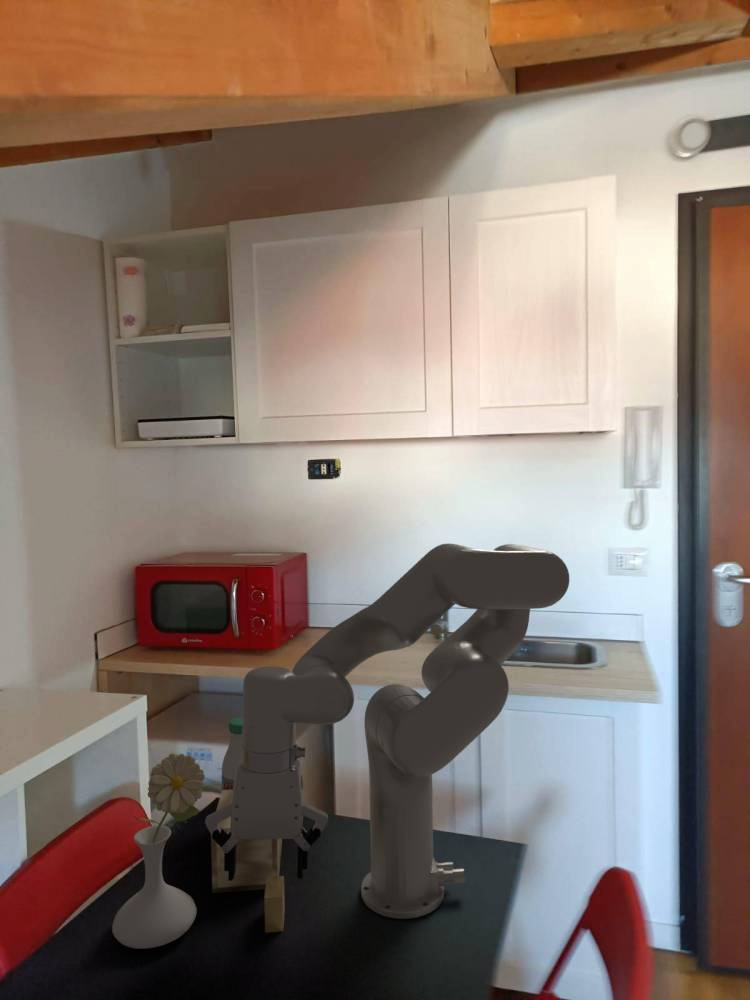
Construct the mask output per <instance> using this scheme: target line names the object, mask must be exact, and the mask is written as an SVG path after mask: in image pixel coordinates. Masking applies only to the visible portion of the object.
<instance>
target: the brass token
mask: <svg viewBox="0 0 750 1000" xmlns="http://www.w3.org/2000/svg"><path fill="white" fill-rule="evenodd" d="M263 897H264V898H263V900H264V926H265V927H264V932H265V933H279V932H284V926H285V925H284V923H285V909H286V908H285V907H286V905H285V903H286V902H285V901H286V900H285V875H279V876H276V877H267V880H266V889H264V896H263Z"/></svg>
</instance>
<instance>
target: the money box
mask: <svg viewBox="0 0 750 1000" xmlns="http://www.w3.org/2000/svg"><path fill="white" fill-rule="evenodd" d="M232 795H233V789H231V790H222V789H221V793H220V796H219V800H218V804H217V807H216V810H215V812H216V811H217V810H219V809H221V808H223V807H225V806H227V805H229V804H231V803H232ZM218 824H219V826H220V827H221V828H222V829H223V830H224V831H225V832H226V833H227V834H228V833H229V831H230V830H231V817H229V818H227V819H225V820H223V821H221V822H219V823H218ZM210 846H211V848H210V851H211V852H210V853H211V854H210V855H211V884H212V885H211V886H212V888H211V889H212V890H211V891H212V893H213V894H215V893H217V894H219V893H231V892H243V891H244V892H245V891H260V890H261V891H262V890H265V889H266V880H267V877H276V876H280V872H281V870H280V869H281V860H282V850H283V849H282V847H283V839H260V840H242V839H240V840H239V841H238V842H237V843H236V871H235V875H234V879H232V881H228V873H229V871H224V854H225V853H224V852H223V851H222V847H220V846H219V845H218V844H217V843H216V842H215V841H214V840H213V839H212V835H211V834H210Z"/></svg>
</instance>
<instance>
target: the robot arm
mask: <svg viewBox="0 0 750 1000" xmlns="http://www.w3.org/2000/svg"><path fill="white" fill-rule="evenodd" d="M569 586H570V572H569V568H568V567H567V565H566V563H565V562H564V561H563V559H562V558H561V557H560V556H559V555H557V554H555V553H554V552H552V551H549V550H545V549H541V548H535V547H531V546H526V545H520V544H514V543H507V544H502V545H498V546H497V547H495V548H494V549H493V550H491V549H490V550H489V549H480V548H479V549H478V548H473V547H468V546H464V545H460V544H455V543H442V544H439V545H437V546H434V547H433V548H432V549H430V550H429V551H428V552H426V554H424V556H422V557H421V558H420V559H419V560H418V561H417V562H416V563H415V564H414V565H413V566H412V567H410V569H408V571H407V572H406V573H404V574H403V575H402V576H401V577H400V578H399V579H398V580H397V581H395V583H393V585H392V586H390V587H389V589H387V590H386V591H384V593H383V594H382V595H380V596H379V598H378V599H376V600H375V601H374V602H373V603H371V604H370V605H368V606H366V607H364V608H362V609H361V610H359V611H358V612H356V613H355V614H352V615H351V616H350V617H348V618H346V619H344V620H343V621H341V622H340V623H338V624H337V625H335V626H334V627H333V628H331V629H330V630H329V631H327V632H326V633H325V634H324V635H323V636H322V637H320V639H318V640H317V642H315V643H314V644H313V645H312V646H311V647H310V648H309V649H308V650H307V651H306V652H305V653H304V654H302V656H300V658H299V659H298V660H297V662H296V663H295V665H294V666H293V668H292V670H291V669H290V668H286V667H282V666H275V665H271V666H269V665H268V666H260V667H256V668H254V669H251V670H249V671H248V672H247V673H246V674H245V676H244V679H243V687H242V689H243V690H242V691H243V692H242V717H243V729H242V760H241V761H240V762H238V764H237V768H236V773H235V778H234V786H233V795H232V803H231V804H229V805H227V806H225V807H223V808H221V809H219V810H217V809H216V810H217V811H216V810H215V811H214V812H212V813H210V814H208V815H207V816H206V818H205V821H204V824H205V826H206V828H207V830H208V832H209V833H210V836H211V835H212V839H213V840H214V841H215V842H216V843H217V844H218V845H219V846H220V847H222V851H223V852H224V853H225V854H224V871H229V873H228V881H232V879H234V875H235V871H236V843H237V842H238V841H239V840H240V839H242V840H260V839H282V840H283V839H284V840H287V839H288V840H290V839H293V841H294V842H295V843H296V844H297V866H296V867H297V871H296V872H297V873H296V878H297V879H298V880H302V879H303V870H308V859H309V858H308V855H309V854H308V851H310V848H311V846H312V845H313V844H314V843H315V842H316V841H317V840H318V839H319V838H320V837H321V834H322V832H323V831H324V830H325V828H326V825H327V824H328V822H329V815H328V814H327V813H326V812H324V811H323V810H321V809H320V808H317V807H315V806H313V805H311V804H309V803H306V802H305V801H304V782H303V772H302V771H303V770H302V766H301V762H300V760H298V759H301V758H306V747H301V746H298V744H297V743H296V742H297V741H296V739H297V738H296V735H297V733H296V732H297V731H296V730H297V723H300V724H307V725H308V724H311V725H318V726H319V725H320V726H321V725H322V726H325V725H326V726H327V725H333V724H336V723H339V722H341V721H343V720H345V718H347V716H348V715H349V714H350V713H351V711H352V710H353V708H354V702H355V695H354V689H353V687H352V685H351V683H350V682H349V680H348V679H347V678H346V677H347V676H348V675H350V673H351V672H353V670H354V669H356V668H357V667H358V666H359V665H361V664H362V663H363V662H365V661H366V660H368V659H370V658H372V657H374V656H376V655H378V654H382V653H385V652H391V651H397V650H402V649H406V648H409V647H411V646H413V645H414V644H416V643H417V642H418V641H419V640H420V639H421V638H422V637H423V636H424V635H425V633H427V632H428V631H429V629H431V628H432V627H433V626H434V625H435V624H436V623H437V622H438V621H439V620H440V619H441V618H442V617H443V616H444V615H445V614H446V613H447V612H448V611H450V610H451V609H452V608H453V606H455V605H456V606H459V607H462V608H467V609H471V610H472V609H474V610H475V611H474V612H473V614H471V616H470V617H469V618H468V619H467V620H466V621H465V622H464V623H462V624H461V625H460V626H459V627H457V629H456V630H455V631H453V632H452V633H451V634H450V635H449V636H448V637H446V638H445V639H444V640H443V641H442V642H441V643H440V644H439V645H437V646H436V647H435V648H434V649H433V650H432V651H431V652H430V653H429V654H428V655H427V656H426V658H425V659H424V661H423V663H422V666H421V679H422V682H423V684H424V685H425V688H426V689H427V690H428V691H429V693H428V694H427V695H426V696H425V697H423V696H422V694H420V693H419V692H418V691H416V690H415V689H413V688H412V687H410V686H407V685H404V684H399V683H398V684H397V683H395V684H387V685H384V686H382V687H380V688H379V689H378V690H377V691H376V692H374V693H373V694H372V696H371V698H370V699H369V700H368V702H367V705H366V709H365V711H364V712H365V713H364V734H365V735H364V736H365V743H366V751H367V759H368V760H367V761H368V779H369V782H368V783H369V826H370V827H369V831H370V833H369V834H370V835H369V836H370V837H369V838H370V842H369V843H370V872H369V873H367V874H366V875H365V876H364V877H363V880H362V882H361V887H360V893H361V898H362V901H363V902H364V904H365V906H367V907H368V908H369V909H370V910H371V911H372V912H374V913H376V914H377V915H381V916H383V917H386V918H391V919H397V920H407V919H415V918H420V917H423V916H425V915H428V914H430V913H432V912H433V911H435V910H436V909H437V908H438V907H439V906H440V905H441V904H442V902H443V900H444V896H445V885H446V884H462V883H463V884H464V883H465V882H466V874H465V869H464V868H463V867H462V868H454V862H453V861H444V862H438V861H437V860H435V857H434V829H433V827H434V823H433V822H434V821H433V820H434V819H433V817H434V815H433V790H434V789H433V775H434V774H436V773H437V772H439V771H440V770H442V769H444V768H445V767H446V766H448V765H449V764H450V763H451V762H453V760H454V759H456V757H457V756H458V755H460V754H461V753H462V752H463V751H464V750H465V749H466V748H467V747H468V746H469V745H471V743H473V741H474V740H475V739H477V737H479V736H480V735H481V734H482V733H483V732H484V731H485V730H486V729H487V728H488V727H489V726H490V725H491V724H492V723H493V722H494V721H495V720H496V719H497V718H498V717H499V715H500V714H501V712H502V710H503V709H504V707H505V705H506V702H507V701H508V697H509V696H508V695H509V689H510V687H509V686H510V685H509V680H508V679H509V678H508V675H507V672H506V671H505V669H504V668H503V666H502V665H503V664H504V663H505V662H506V661H507V660H508V659H509V658H510V657H511V655H512V654H514V653H515V652H516V651H517V649H518V648H519V646H520V645H521V644H522V642H524V641H523V640H524V638H525V637H526V634H527V631H528V627H529V621H530V613H531V610H534V609H535V610H536V609H543V608H549V607H552V606H553V605H555V604H557V603H558V602H559V601H561V600H562V598H563V597H564V596H565V594H566V593H567V592H568V589H569ZM229 817H231V830H230V831H229V833H228V834H227V833H226V832H225V831H224V830H223V829H222V828H221V827H220V826H219V824H218V823H219V822H221V821H223V820H225V819H227V818H229ZM304 817H306V818H308V819H310V820H312V821H315V823H314V825H313V826H312V827H311V828H310V829H309V830H306V829H305V827H303V823H304V822H303V821H304Z"/></svg>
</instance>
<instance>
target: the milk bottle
mask: <svg viewBox="0 0 750 1000" xmlns="http://www.w3.org/2000/svg"><path fill="white" fill-rule="evenodd" d="M242 729H243V716H239V717H235V718H233V719H231V720H229V722H228V730H229V732H228V735H229V736H230V740H229V743H228V747H227V750H226V752H225V754H224V757H223V760H222V765H221V791H222V790H231V789H233V786H234V778H235V773H236V768H237V764H238V762H240V761H241V760H242Z"/></svg>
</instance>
